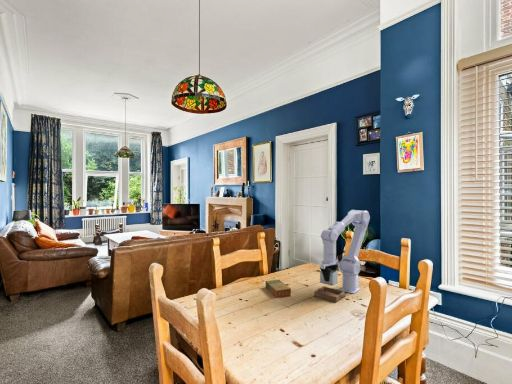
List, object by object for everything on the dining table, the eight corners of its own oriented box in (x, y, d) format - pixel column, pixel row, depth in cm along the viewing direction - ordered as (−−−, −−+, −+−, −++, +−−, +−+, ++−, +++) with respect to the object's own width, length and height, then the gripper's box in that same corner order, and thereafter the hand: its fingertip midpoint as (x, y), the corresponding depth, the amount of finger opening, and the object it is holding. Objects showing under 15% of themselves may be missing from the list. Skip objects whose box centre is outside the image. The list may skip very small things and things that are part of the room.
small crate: (324, 280, 143) (324, 268, 143) (337, 283, 138) (337, 271, 138) (320, 282, 139) (320, 270, 139) (332, 285, 135) (332, 273, 135)
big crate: (323, 290, 146) (323, 286, 146) (345, 296, 138) (345, 291, 138) (314, 296, 139) (314, 291, 139) (336, 302, 131) (336, 297, 131)
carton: (276, 298, 137) (276, 290, 137) (265, 288, 152) (265, 280, 152) (291, 296, 139) (291, 288, 139) (278, 286, 155) (278, 278, 155)
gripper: (328, 249, 147) (328, 275, 147) (315, 254, 136) (315, 281, 136) (341, 251, 142) (341, 277, 142) (327, 256, 131) (328, 285, 131)
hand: (329, 279), depth 139 cm, fingers closed on small crate, 5 cm apart
